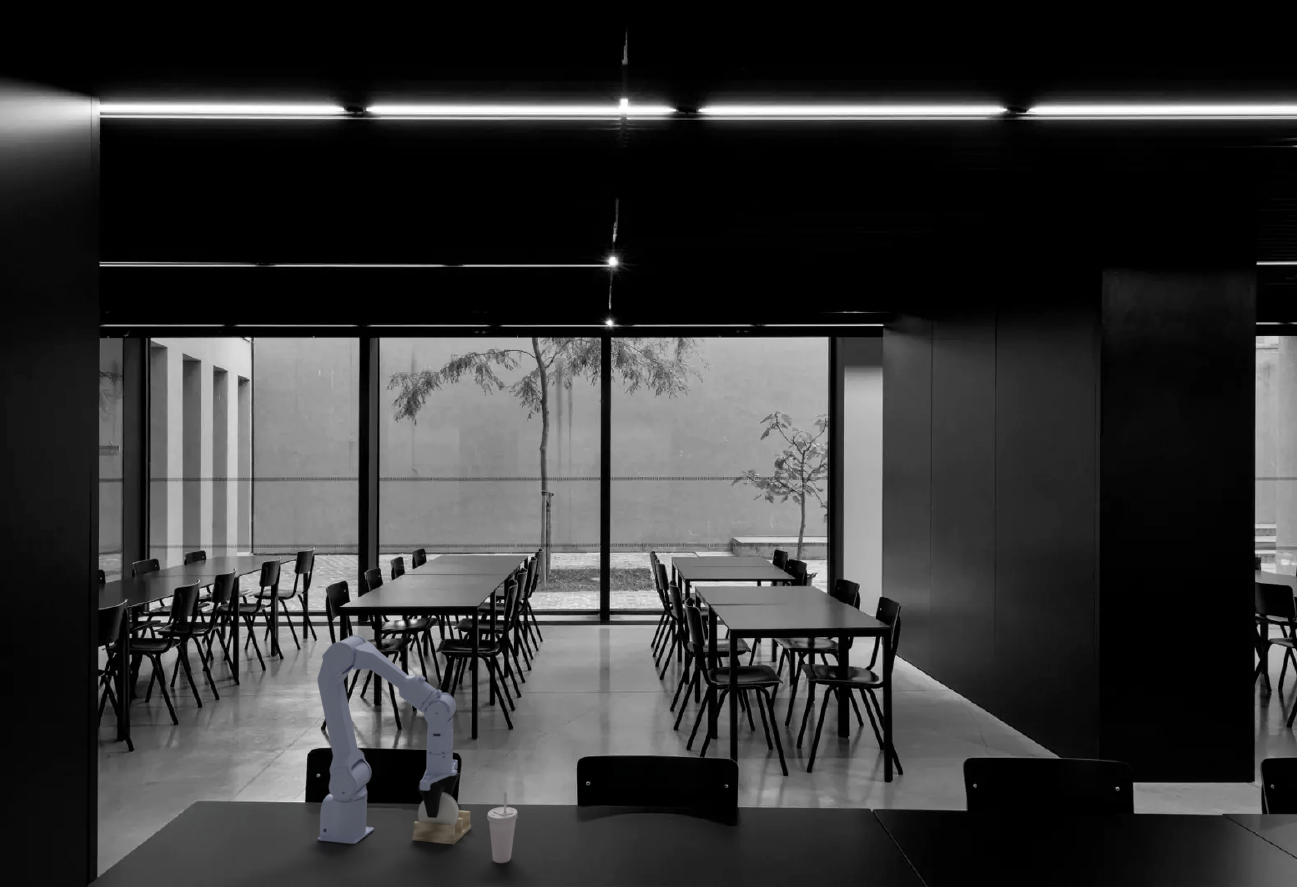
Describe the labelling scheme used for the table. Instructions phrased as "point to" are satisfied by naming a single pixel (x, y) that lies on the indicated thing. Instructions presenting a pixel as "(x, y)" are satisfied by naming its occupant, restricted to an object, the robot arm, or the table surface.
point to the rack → (442, 830)
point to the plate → (441, 811)
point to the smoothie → (502, 831)
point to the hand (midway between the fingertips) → (438, 811)
